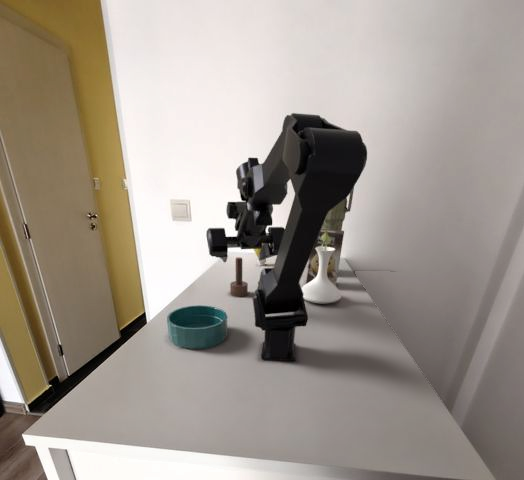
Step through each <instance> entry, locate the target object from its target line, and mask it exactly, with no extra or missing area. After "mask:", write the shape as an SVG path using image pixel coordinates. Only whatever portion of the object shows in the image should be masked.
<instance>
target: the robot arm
mask: <svg viewBox="0 0 524 480" xmlns="http://www.w3.org/2000/svg"><path fill="white" fill-rule="evenodd" d="M367 160H368V149H367V146H366V144H365V143H364V141H363V138H362V135H361V133H360V132H359V131H357V130H349V129H345V128H343V127H340V126H339V125H336V124H333V123H331V122H329V121H328V120H326V118H325V117H321V116H320V115H319V114H310V113H297V112H292V113H291V114H287V115H285V117H284V120H283V123H282V129H281V132H280V134H279V135H278V137H277V139H276V141H275V143H274V144H273V146H272V148H271V149H270V151H269V153H268V155H267V156H266V158H265V159H264V161H263V162H262V163H260V162H259V158H258V157H248V158H247V161H244V162H243V163H241V164H240V165H239V166H238V167H237V168H236V170H235V175H236V180H237V183H236V188H237V189H238V190H239V196H240V197H239V198H240V200H241V201H227V204H226V210H225V211H226V216H227V219H228V220H235V223H234V230H235V232H237V233H236V235H235V236H227V234H226V229H225V227H208V228H207V230H206V233H205V234H206V241H207V248H208V249H207V250H208V255H210V256H211V257H215V258H219V259H221V260H222V261H223V263H227V261H228V257H229V255H228V252H229V249H236V248H238V249H239V248H240V250H254V249H261V251H260V253H259V256H258V257H257V259H259V261H261V260H264V259H266V260H267V259H269V258H273V257H275V256H276V257H275V260H274V265H273V267H266V268H265V267H264V268H262V270H261V271H260V275H259V280H258V281H257V288H256V289H255V290H254V292H253V293H254V294H253V297H252V305H253V311H254V326H255V327H256V328H259V329H261V331H262V332H263V331H264V340H263V341H262V348H261V353H260V359H261V360H268V361H284V362H295V361H296V359H297V356H296V355H297V354H296V343H295V336H296V328H297V327H298V328H299V327H306V326H307V325H308V321H309V316H308V312H307V307H306V303H305V299H304V298H303V295H304V294H303V291H302V285H301V282H300V281H301V279H302V276H303V275H304V272H305V269H306V267H307V265H308V262H309V257H310V255H311V252H312V250H313V248H314V245H315V243H316V240H317V238H318V235H319V233H320V231H321V228H322V226H323V223H324V221H325V218H326V216H327V214H328V212H329V211H330V210H331V209H332V208H334V207H335V206H336V205H337V204H339V203H340V202H341V201H343V200H344V199H345V198H346V197H347V198H349V196H350V192H351V191H352V189H353V187H354V188H355V186H356V184H357V183H358V180H359V179H360V177H361V175H362V173H363V171H364V170H365V168H366V165H367ZM289 181H290V183H291V185H292V188H293V192H294V196H293V200H292V204H291V207H290V210H289V214H288V216H287V221H286V224H285V227H283V226H273V216H272V214H273V212H274V206H280V205H282V203H283V202H284V200H285V199H286V198H287V195H288V183H289ZM273 205H274V206H273ZM267 227H268V228H267ZM262 244H263V246H262ZM286 313H287V314H286ZM289 313H290V314H289ZM275 314H276V315H275ZM277 314H279V315H277ZM267 315H269V316H267Z"/></svg>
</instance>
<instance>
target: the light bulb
mask: <svg viewBox="0 0 524 480" xmlns="http://www.w3.org/2000/svg"><path fill="white" fill-rule="evenodd" d="M262 246H263V244H262ZM253 251H254V254H255V255H256V257H257V259H256V262H257V265H258V266H260V267H263V266H265V265H266V263H267V258H266V259H264V260H261V261H259V259H258V256H259V253H260V251H261V249H253Z"/></svg>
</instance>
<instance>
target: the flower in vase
mask: <svg viewBox="0 0 524 480" xmlns="http://www.w3.org/2000/svg"><path fill="white" fill-rule="evenodd" d="M323 225H324V228H325V233H324V234H323V235H322V237H321V239H322V240H323V244H322V245H321V247H316V250H317V252H318V256H319V270H318V274H317V276H316V278H315V279H313V280H312V281H310V282H309V283H307V284H306V283H305V284H304V285H303V286H301V288H302V291H303V294H304V295H303V298H304V301H307V302H309V303H314V304H323V305H324V304H332V303H336V302H338V301H339V300H340V299H341V298H342V293H341V291H340V289H339V288H338V287H337V285H336V286H335V285H334V284H333V283H332V282H331V281H330V280H329V279H328V277H327V267H328V263H329V259H330V257H331V255H332V253H333V252H334V251H335V249H334V248H332V247H327V244H328V243H330V242H331V239H330V238H329V236H328V234H327V230H326V226H325V223H323ZM324 243H325V244H326V245H325V247H323V245H324Z"/></svg>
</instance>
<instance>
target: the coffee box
mask: <svg viewBox="0 0 524 480" xmlns="http://www.w3.org/2000/svg"><path fill="white" fill-rule="evenodd" d="M326 230H327V234H328V236H329V238H330V239H331V242H330V243H328V244H327V247H332V248H334V249H335V251H334V252H333V253H332V255H331V257H330V259H329V263H328V267H327V277H328V279H329V280H330V281H331V282H332V283H333V284H334V285H335V286H336V287H337V281H338V273H339V268H340V262H341V255H342V249H343V241H344V236H345V230H342V231H340V230H328V229H326ZM324 233H325V229H321V231H320V233H319V235H318V238H317V240H316V243H315V245H314V248H313V250H312V252H311V255H310V257H309V260H308V262H307V270H306V272H307V273H306V280H305V285H306V284H307V283H309V282H310V281H312V280H313V279H315V278H316V276H317V274H318V270H319V256H318V252H317V250H316V247H321V245H322V244H323V240H322V239H321V237H322V235H323V234H324ZM325 245H326V244H325V243H324V245H323V247H325Z"/></svg>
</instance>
